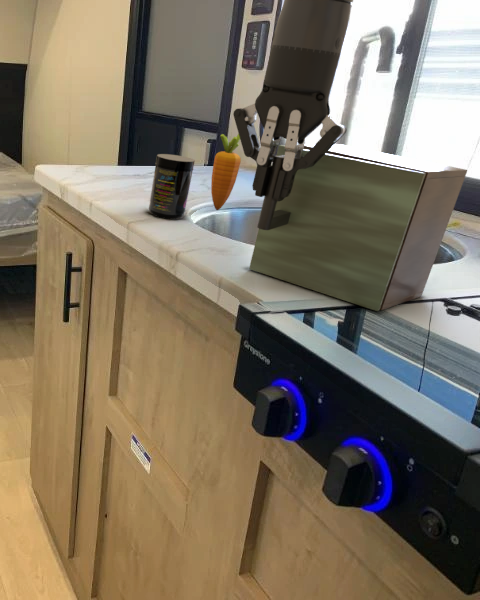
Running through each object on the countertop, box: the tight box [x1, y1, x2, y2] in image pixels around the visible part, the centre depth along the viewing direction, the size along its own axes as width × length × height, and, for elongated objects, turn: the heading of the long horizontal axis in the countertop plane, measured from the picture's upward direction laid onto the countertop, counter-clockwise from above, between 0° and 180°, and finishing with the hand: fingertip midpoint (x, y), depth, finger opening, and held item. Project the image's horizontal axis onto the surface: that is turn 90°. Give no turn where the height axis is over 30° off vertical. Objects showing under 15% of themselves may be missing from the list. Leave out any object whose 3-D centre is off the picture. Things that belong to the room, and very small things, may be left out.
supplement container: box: [148, 153, 196, 220], centre depth 108 cm, size 7×7×10 cm
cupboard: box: [303, 143, 468, 311], centre depth 82 cm, size 12×18×18 cm
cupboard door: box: [248, 144, 426, 312], centre depth 74 cm, size 8×18×17 cm, turn 50°
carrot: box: [210, 133, 242, 211], centre depth 116 cm, size 5×5×15 cm
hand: (269, 197), depth 74 cm, fingers closed on cupboard door, 2 cm apart
